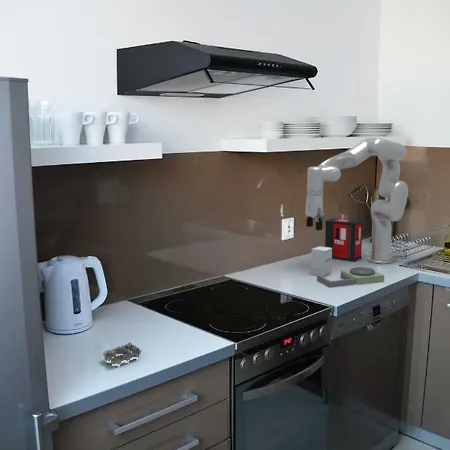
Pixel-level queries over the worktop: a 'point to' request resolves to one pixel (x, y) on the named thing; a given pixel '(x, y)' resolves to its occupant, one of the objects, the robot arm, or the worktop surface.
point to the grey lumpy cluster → (122, 350)
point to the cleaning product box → (344, 239)
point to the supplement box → (321, 261)
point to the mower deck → (354, 277)
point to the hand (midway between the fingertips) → (314, 228)
